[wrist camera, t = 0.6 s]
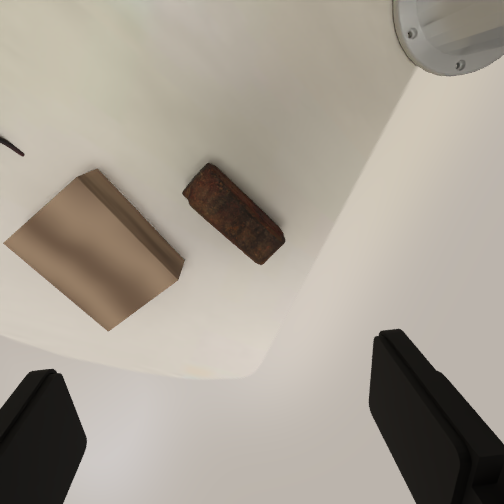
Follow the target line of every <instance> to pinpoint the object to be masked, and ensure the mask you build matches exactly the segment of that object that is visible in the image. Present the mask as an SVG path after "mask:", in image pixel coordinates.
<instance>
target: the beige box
mask: <svg viewBox="0 0 504 504" xmlns="http://www.w3.org/2000/svg"><path fill="white" fill-rule="evenodd" d="M3 244H5V245H6V246H7V247H8V248H9V249H11V250H12V251H13V252H14V253H15V254H17V255H18V256H19V257H20V258H21V259H23V260H24V261H25V262H26V263H27V264H28V265H30V266H31V267H32V268H33V269H34V270H36V271H37V272H38V273H39V274H40V275H42V276H43V277H44V278H45V279H46V280H47V281H49V282H50V283H51V284H52V285H53V286H55V287H56V288H57V289H58V290H59V291H61V292H62V293H63V294H64V295H65V296H67V297H68V298H69V299H70V300H71V301H72V302H74V303H75V304H76V305H77V306H78V307H80V308H81V309H82V310H83V311H84V312H86V313H87V314H88V315H89V316H90V317H92V318H93V319H94V320H95V321H96V322H97V323H99V324H100V325H101V326H102V327H103V328H105V329H106V330H107V331H110V330H111V329H112V328H114V327H115V326H117V325H118V324H119V323H121V322H122V321H123V320H125V319H126V318H127V317H129V316H130V315H131V314H133V313H134V312H136V311H137V310H138V309H140V308H141V307H142V306H144V305H145V304H146V303H148V302H149V301H150V300H152V299H153V298H155V297H156V296H157V295H159V294H160V293H161V292H163V291H164V290H165V289H167V288H168V287H169V286H171V285H172V284H174V283H175V282H176V281H178V279H179V276H180V273H181V270H182V267H183V264H184V261H185V260H184V259H183V258H182V257H181V256H180V255H179V254H178V253H177V252H176V251H175V250H174V249H173V248H172V247H171V246H170V245H169V244H168V242H167V241H166V240H165V239H164V238H163V237H162V236H161V235H160V234H159V233H158V232H157V231H156V230H155V229H154V228H153V227H152V226H151V225H150V224H149V222H148V221H147V220H146V219H145V218H144V217H143V216H142V215H141V214H140V213H139V212H138V211H137V210H136V209H135V208H134V207H133V206H132V205H131V204H130V202H129V201H128V200H127V199H126V198H125V197H124V196H123V195H122V194H121V193H120V192H119V191H118V190H117V189H116V188H115V187H114V186H113V185H112V184H111V182H110V181H109V180H108V179H107V178H106V177H105V176H104V175H103V174H102V173H101V172H100V171H99V170H98V169H95V170H93V171H90V172H88V173H86V174H83V175H81V176H78V177H76V178H75V179H74V180H73V181H72V182H71V183H70V184H69V185H68V186H66V187H65V188H64V189H63V190H62V191H61V192H60V193H59V194H58V195H56V196H55V197H54V198H53V199H52V200H51V201H50V202H49V203H47V204H46V205H45V206H44V207H43V208H42V209H41V210H40V211H39V212H37V213H36V214H35V215H34V216H33V217H32V218H31V219H30V220H28V221H27V222H26V223H25V224H24V225H23V226H22V227H21V228H20V229H18V230H17V231H16V232H15V233H14V234H13V235H12V236H11V237H10V238H8V239H7V240H6V241H5V242H4V243H3Z"/></svg>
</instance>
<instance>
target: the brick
mask: <svg viewBox="0 0 504 504" xmlns="http://www.w3.org/2000/svg"><path fill="white" fill-rule="evenodd" d="M182 194H183V195H184V197H186V198H187V199H188V201H189V205H190V206H191V207H192V208H193V209H194V210H195V211H196V212H197V213H198V214H200V215H201V216H202V217H203V218H204V219H205V220H206V221H208V222H209V223H210V224H211V225H212V226H213V227H215V228H216V229H217V230H218V231H219V232H220V233H221V234H223V235H224V236H225V237H226V238H227V239H229V240H230V241H231V242H232V243H233V244H234V245H236V246H237V247H238V248H239V249H240V250H242V251H243V253H244V254H246V255H247V256H248V257H250V258H251V259H252V260H253V261H254V262H255V263H257V264H260V265H262V264H264V263H265V262H266V261H267V260H268V259H269V258H270V257H271V256H272V255H273V254H274V253H275V252H276V251H277V250H278V249H279V248H280V247H281V246H282V245H283V244H284V243H285V238H284V234H283V232H282V230H281V229H280V228H279V227H278V226H277V225H276V224H275V223H274V222H273V221H272V220H271V219H270V218H269V217H268V216H267V215H266V214H265V213H264V212H263V211H262V210H261V209H260V208H259V207H258V206H257V205H256V204H255V203H254V202H253V201H252V200H251V199H250V198H249V197H248V196H247V195H246V194H244V193H243V192H242V191H241V190H240V189H239V188H238V187H237V186H236V185H235V184H234V183H233V182H232V181H231V180H230V179H229V178H228V177H227V176H226V175H225V174H223V173H222V172H221V171H220V170H219V169H218V168H217V167H216V166H214V165H212V164H210V163H207V164H206V165H205V166H204V167H203V168H202V169H201V170H200V172H199V173H198V174H197V175H196V176H195V177H194V178H193V180H192V181H191V182H190V183H189V184H188V186H187V187H186V188H185V189H184V191H183V192H182Z"/></svg>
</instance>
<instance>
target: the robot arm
mask: <svg viewBox="0 0 504 504" xmlns="http://www.w3.org/2000/svg"><path fill="white" fill-rule="evenodd" d="M393 16H394V23H395V29H396V33H397V36H398V38H399V41H400V44H401V46H402V48H403V49H404V51H405V53H406V54H407V56H408V57H409V58H410V59H411V60H412V61H413V62H414V63H415V64H416V65H417V66H419V67H420V68H422V69H423V70H425V71H427V72H430V73H433V74H436V75H440V76H456V75H463V74H467V73H472V72H475V71H477V70H480V69H482V68H484V67H486V66H488V65H490V64H491V63H493V62H494V61H496V60H497V59H499V58H500V57H501V56H502V55H504V0H393ZM408 33H409V34H410V37H409V38H408V35H407V34H408ZM456 64H457V67H456ZM369 407H370V411H371V414H372V416H373V418H374V420H375V422H376V424H377V426H378V428H379V430H380V432H381V434H382V436H383V438H384V440H385V442H386V444H387V446H388V448H389V450H390V452H391V454H392V456H393V458H394V460H395V462H396V464H397V466H398V468H399V470H400V472H401V474H402V476H403V478H404V480H405V482H406V484H407V486H408V488H409V490H410V492H411V494H412V496H413V498H414V500H415V502H416V504H504V444H503V443H502V442H501V440H500V439H499V438H498V437H497V436H496V435H495V434H494V432H493V431H492V430H491V429H490V428H489V427H488V425H487V424H486V423H485V422H484V421H483V420H482V419H481V417H480V416H479V415H478V414H477V413H476V411H475V410H474V409H473V408H472V407H471V406H470V405H469V403H468V402H467V401H466V400H465V399H464V398H463V396H462V395H461V394H460V393H459V392H458V391H457V389H456V388H455V387H454V386H453V385H452V384H451V382H450V381H449V380H448V379H447V378H446V377H445V376H444V375H443V374H442V373H441V372H439V371H436V370H435V369H434V367H433V366H432V365H431V364H430V363H429V361H428V360H427V359H426V358H425V357H424V355H423V354H422V353H421V352H420V351H419V350H418V348H417V347H416V346H415V345H414V344H413V343H412V341H411V340H410V339H409V338H408V337H407V335H406V334H405V333H404V332H403V331H402V330H401V329H393V330H385V331H381V332H380V333H379V336H376V337H375V338H374V343H373V355H372V368H371V380H370V393H369ZM86 444H87V438H86V435H85V432H84V430H83V427H82V425H81V422H80V420H79V417H78V415H77V412H76V409H75V407H74V404H73V401H72V399H71V396H70V394H69V391H68V389H67V386H66V383H65V381H64V378H63V376H62V374H60V373H57V372H56V371H55V370H54V369H46V370H37V371H32V372H29V373H28V374H27V375H26V377H25V378H24V379H23V380H22V382H21V383H20V384H19V386H18V387H17V388H16V390H15V391H14V392H13V394H12V395H11V396H10V397H9V399H8V400H7V401H6V402H5V404H4V405H3V406H2V408H1V409H0V504H63V502H64V500H65V497H66V495H67V493H68V490H69V488H70V485H71V483H72V481H73V478H74V476H75V474H76V471H77V469H78V467H79V464H80V462H81V459H82V457H83V455H84V452H85V449H86Z"/></svg>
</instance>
